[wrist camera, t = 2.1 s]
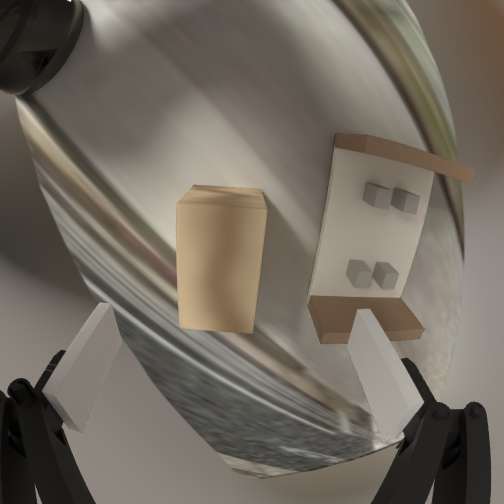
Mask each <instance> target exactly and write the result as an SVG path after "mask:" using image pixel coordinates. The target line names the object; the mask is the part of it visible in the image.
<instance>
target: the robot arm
mask: <svg viewBox="0 0 504 504" xmlns="http://www.w3.org/2000/svg"><path fill="white" fill-rule="evenodd" d="M82 21H83V9H82V5H81V3H80V1H79V0H0V91H2V92H4V93H7V94H15V95H24V94H28V93H31V92H33V91H35V90H37V89H39V88H40V87H42V86H43V85H44V84H45V83H47V82H48V81H49V80H50V79H51V78H52V77H53V76H54V75H55V74H56V73H57V71H58V70H59V69H60V68H61V66H62V65H63V64H64V62H65V61H66V59H67V58H68V56H69V55H70V53H71V51H72V49H73V47H74V45H75V43H76V41H77V39H78V36H79V33H80V30H81V26H82ZM121 344H122V340H121V337H120V333H119V330H118V327H117V323H116V319H115V316H114V312H113V308H112V304H109V303H99V304H98V305H97V307H96V308H95V310H94V311H93V312H92V314H91V315H90V317H89V318H88V320H87V321H86V322H85V324H84V325H83V327H82V328H81V330H80V331H79V333H78V334H77V336H76V337H75V339H74V340H73V342H72V343H71V345H70V346H69V348H68V349H67V351H64V350H61V351H59V352H58V353H57V354H56V355H55V356H54V357H53V358H52V360H51V361H50V364H49V365H48V366H47V368H46V370H45V371H44V372H43V374H42V376H41V377H40V379H39V381H38V382H37V384H36V386H35V388H34V389H33V387H32V386H31V384H30V382H29V381H28V380H26V379H23V378H19V379H16V380H14V381H13V382H12V383H11V384H10V385H9V387H8V391H7V393H8V395H9V396H10V397H11V398H8V397H6V395H5V394H4V393H3V392H2V391H1V390H0V504H37V498H36V492H35V485H36V488H37V491H38V494H39V497H40V499H41V502H42V504H96V503H95V501H94V499H93V497H92V496H91V494H90V492H89V490H88V488H87V486H86V484H85V481H84V479H83V477H82V475H81V473H80V471H79V468H78V466H77V464H76V461H75V459H74V457H73V454H72V452H71V449H70V447H69V444H68V441H67V438H66V436H65V433H64V430H63V429H62V427H61V426H62V424H63V422H64V423H65V424H66V425H67V427H68V428H69V429H72V430H75V431H78V432H81V433H82V432H83V429H84V427H85V424H86V422H87V419H88V417H89V414H90V412H91V409H92V407H93V405H94V402H95V400H96V398H97V395H98V393H99V391H100V389H101V386H102V384H103V382H104V380H105V377H106V375H107V373H108V371H109V369H110V367H111V365H112V362H113V360H114V358H115V356H116V354H117V352H118V350H119V348H120V346H121ZM346 348H347V350H348V353H349V355H350V358H351V360H352V362H353V365H354V367H355V370H356V372H357V375H358V377H359V380H360V382H361V385H362V387H363V390H364V392H365V395H366V398H367V400H368V403H369V405H370V408H371V411H372V413H373V416H374V419H375V421H376V424H377V427H378V430H379V432H380V435H381V438H382V441H387V440H391V439H394V438H397V437H398V436H399V435H400V434H401V432H402V431H403V433H404V435H405V437H404V438H403V439H402V441H401V442H400V443H399V444H398V445H397V447H396V448H397V449H398V448H399V450H398V452H397V454H396V456H395V458H394V460H393V463H392V465H391V467H390V469H389V471H388V473H387V475H386V477H385V479H384V481H383V483H382V485H381V486H380V488H379V490H378V492H377V494H376V496H375V497H374V499H373V501H372V502H371V504H425V502H426V500H427V497H428V495H429V492H430V490H431V487H432V484H433V482H434V479H435V482H434V490H433V498H432V504H490V495H491V457H490V441H489V431H488V422H487V414H486V411H485V408H484V407H483V406H482V405H481V404H480V403H478V402H470V403H469V404H467V405H466V407H465V408H464V409H450V408H449V407H448V406H447V405H445V404H443V403H440V402H437V401H436V400H435V398H434V396H433V394H432V393H431V391H430V389H429V387H428V386H427V384H426V382H425V380H423V377H422V375H421V374H420V373H419V370H418V369H417V367H416V365H415V364H414V363H413V362H412V361H411V360H409V359H408V358H403V359H400V358H399V356H398V354H397V352H396V351H395V349H394V347H393V346H392V344H391V342H390V341H389V339H388V337H387V336H386V334H385V332H384V331H383V329H382V327H381V326H380V324H379V322H378V321H377V319H376V318H375V316H374V314H373V313H372V311H371V310H370V309H357V313H356V316H355V320H354V324H353V327H352V331H351V334H350V337H349V341H348V344H347V347H346ZM34 483H35V484H34Z"/></svg>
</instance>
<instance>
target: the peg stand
mask: <svg viewBox="0 0 504 504" xmlns="http://www.w3.org/2000/svg"><path fill="white" fill-rule="evenodd" d="M435 172H437V173H440V174H443V175H446V176H449V177H452V178H455V179H458V180H461V181H464V182H467V183H470V184H473V180H474V175H475V170H473V169H471V168H468V167H466V166H463V165H461V164H459V163H456V162H453V161H451V160H448V159H445V158H443V157H440V156H437V155H434V154H431V153H428V152H425V151H422V150H419V149H416V148H413V147H410V146H406V145H403V144H399V143H396V142H392V141H389V140H385V139H381V138H378V137H374V136H370V135H359V134H336V136H335V144H334V152H333V159H332V166H331V173H330V180H329V186H328V193H327V199H326V205H325V211H324V216H323V222H322V227H321V233H320V238H319V243H318V248H317V254H316V258H315V263H314V268H313V273H312V278H311V282H310V287H309V291H308V296H307V300H306V302H307V305H308V308H309V310H310V313H311V316H312V319H313V322H314V325H315V328H316V331H317V334H318V337H319V340H320V344H347V343H348V341H349V337H350V334H351V331H352V327H353V324H354V320H355V316H356V313H357V309H370V310H371V311H372V313H373V314H374V316H375V318H376V319H377V321H378V322H379V324H380V326H381V327H382V329H383V331H384V332H385V334H386V336H387V337H388V339H389V341H401V340H413V339H420V337H421V335H422V333H423V331H424V327H423V326H422V325H421V323H420V322H419V321H418V320H417V318H416V317H415V316H414V314H413V313H412V312H411V311H410V309H409V308H408V307H407V305H406V304H405V303H404V302H403V300H402V299H401V298H400V297H401V294H402V291H403V289H404V286H405V283H406V280H407V277H408V274H409V271H410V268H411V265H412V262H413V259H414V256H415V252H416V249H417V246H418V242H419V239H420V235H421V231H422V228H423V224H424V220H425V216H426V212H427V207H428V203H429V198H430V194H431V189H432V184H433V178H434V173H435Z"/></svg>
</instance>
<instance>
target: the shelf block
mask: <svg viewBox="0 0 504 504" xmlns="http://www.w3.org/2000/svg"><path fill="white" fill-rule="evenodd" d="M267 211H268V210H267V206H266V203H265V200H264V196H263V193H262V190H258V189H246V188H233V187H219V186H203V185H194V186H193V187H192V188H191V189H190V190H189V191H188V192H187V193H186V194H185V195H184V196H183V197H182V198H181V199H180V200H179V201H178V202H177V207H176V249H177V285H178V306H179V323H180V328H188V329H198V330H209V331H222V332H236V333H252V334H253V327H254V319H255V311H256V303H257V295H258V287H259V279H260V270H261V262H262V254H263V245H264V237H265V228H266V219H267Z"/></svg>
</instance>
